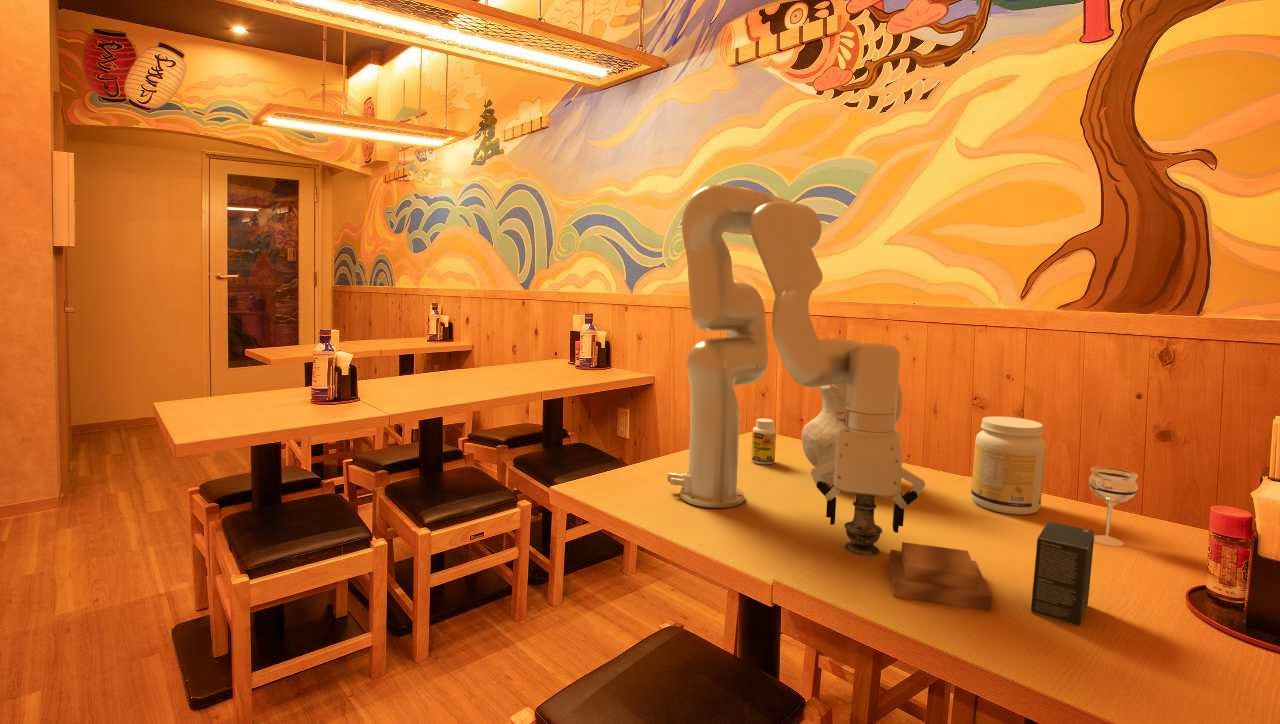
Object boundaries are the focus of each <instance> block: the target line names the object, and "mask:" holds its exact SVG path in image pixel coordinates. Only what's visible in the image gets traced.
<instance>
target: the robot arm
mask: <svg viewBox="0 0 1280 724" xmlns="http://www.w3.org/2000/svg"><path fill="white" fill-rule="evenodd" d="M681 232H682V233H681V234H682V240H683V245H684V249H685V255H686V261H687V262H686V264H687V278H688V281H687V282H688V291H689V292H688V294H689V306H690V315H691V320H692V321H693V323H694V325H695V326H696V327H697V328H698V329H700V330H703V331H707V332H724V331H725V332H726V337H716V338H715V337H714V338H713V337H712V338H708V339H704V340H701V341H698V343H696V344H694V345H693V346H692V347H691V349H690V350H689V352H688V354H687V358H686V373H687V379H688V384H689V394H690V395H689V396H690V405H689V406H690V408H689V409H690V413H689V419H690V420H689V422H690V423H689V446H688V447H689V448H688V449H689V450H688V472H683V473H677V472H670V471H669V472H668V474H667V482H668V483H669V484H670V485H671V486H681V488H680V490H679V496H680V499H681V500H682V501H684V502H686V503H687V504H690V505H693V506H697V507H701V508H702V507H703V508H711V509H712V508H714V509H721V508H722V509H723V508H732V507H735V506H738V505H740V504H741V505H742V503H743V502H744V501H745V493H744V491H742V490H741V489H740V488H739V487H738V484H737V483H738V460H739V441H740V440H739V438H740V435H739V434H740V433H739V432H740V406H739V401H738V397H737V395H736V392H735V390H734V386H740V385H749V384H751V383H755V382H757V381H758V380H760V379H761V378H762V377H763V376H764V374H765V372H766V370H767V367H768V361H769V360H768V358H769V351H768V348H769V347H768V337H767V334H768V333H767V322H766V321H767V320H766V311H765V310H766V309H765V304H764V301H763V298H762V296H761V293H759V291H758V290H757V289H756V288H755V287H754V286H753V285H751V284H748V283H745V282H737V281H736V282H735V281H734V275H733V262H732V256H731V252H730V250H729V248H728V246H727V244H726V242H725V241H724V238H723V234H725V233H729V234H734V235H735V234H736V235H745V236H751V238H752V240H753V243H754V245H755V248H756V250H757V253H758V255H759V258H760V260H761V262H762V264H763V267H764V270H765V272H766V275H767V277H768V279H769V282H770V285H771V287H772V290H773V292H774V300H773V301H774V302H773V306H772V318H771V319H772V321H771V322H772V323H771V327H772V334H773V340H774V342H775V344H776V347H777V351H778V352H779V355H780V358H781V360H782V363H783V364H784V366H785V369H786V371H787V372H788V374H789V375H790V377H791V378H792V379H793V380H794V381H795V382H796V383H797V384H799V385H801V386H803V387H807V388H819V386H825V385H832V384H840V383H848V385H847V402H846V410H844V412H837V414H836V420H841V421H842V422H843V423H845V426H843V427H841V429H840V431H839V435H838V439H837V445H836V452H835V460H834V461H832V462H829V463H826V464H824V465H821V466H818V467H814V468H811V471H810V475H811V478H812V479H813V482H814V483H815V486H816V488H817V489H818V491H820V492H821V494H822V495H823V496H824V497H825V500H826V513H825V517H826V518H829V521H830V523H829V524H830V525H835V524H836V514H837V513H836V510H837V497H836V496H837V495H838V494H840V493H841V492H842V493H847V494H855V495H856V494H862V495H871V496H875V497H881V498H883V497H884V498H892V499H893V501H894V502H895V503H893V511H892V512H893V513H892V524H891V525H892V531H893V532H894V533H896V534H898V533H899V528H900V527H904V519H905V516H904V515H905V509H906V508H907V507H908V506H909V505H910V504H911V503H913V502H914V501H915V500H917V499H918V496H919V495H920V494H921V493H922V491H923V490H924V488H925V486H926V481H925V480H924V479H923V478H921V477H920V476H917V475H916V474H914V473H913V472H910V471H909V470H907V469H905V468H904V467H903V450H902V449H903V448H902V439H901V433H900V432H899V431H897V430H896V426H895V424H896V425H897V422H896V409H897V394H898V383H899V381H900V380H899V378H900V377H899V376H900V364H901V361H900V360H901V355H900V353H901V352H900V350H899V349H898V348H897V347H896V346H894V345H891V344H887V343H876V342H875V343H872V342H871V343H870V342H869V343H868V342H867V343H866V342H864V343H863V342H859V341H854V340H851V339H846V338H822V339H819V337H818V335H817V332H816V330H815V328H814V325H813V323H812V319H811V316H810V312H809V311H810V309H809V301H810V297H811V296H812V293H813V291H815V290H816V289H817V288H818V287H819V286H820V285H821V283H822V282H823V278H824V277H823V272H822V270H821V267H820V265H819V263H818V260H817V258H816V256H815V254H814V251H813V248H814V247H816V245H817V244H818V242H819V241H820V239H821V235H822V223H821V220H820V217H819V215H818V214H817V213H816V211H814V210H813V209H812V207H809V206H808V205H805V204H801V203H799V202H798V203H797V202H794V201H791V200H787V199H785V198H781V197H779V196H776V195H773V194H769V193H767V192H763V191H759V190H754V189H748V188H743V187H739V186H733V185H725V184H711V185H706V186H703V187H702V188H700V189H698V190H697V191H695V192H694V193H693V194H692V196H691V197H690V198H689V200H688V201H687V203H686V205H685V207H684V210H683V213H682V219H681ZM831 471H834V472H833V484H832V485H831V486H829V485H827V484H826V483H825V482H824V481H823V479H822V477H821V475H823V474H825V473H828V472H831ZM902 479H903V480H905V481H906V482H908V483H910V484H912V487H911V488H910V490H907V492H905V493H904V494H902V492H901V489H902V488H901V487H902Z"/></svg>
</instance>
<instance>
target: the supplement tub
mask: <svg viewBox="0 0 1280 724" xmlns="http://www.w3.org/2000/svg"><path fill="white" fill-rule="evenodd" d="M1043 426H1044V425H1043V424H1042V423H1041V422H1038V421H1035V420H1032V419H1027V418H1020V417H1013V416H1012V417H1011V416H985V417H983V418H982V419H981V425H980V428H981V429H982V430H981V431H980V432H978V433H977V434H976V436H975V442H974V453H973V454H974V455H973V464H972V465H973V466H972V467H973V468H972V477H971V478H972V479H971V490H970V497H971V499H972V501H973V502H974V503H975V504H976V505H977V506H980V507H981V508H984V509H986V510H989V511H992V512H996V513H1002V514H1008V515H1015V516H1016V515H1020V516H1021V515H1022V516H1023V515H1024V516H1025V515H1031V514H1035V513H1036V512H1037V511H1039V509H1040V507H1041V504H1042V493H1043V485H1044V484H1043V483H1044V473H1045V463H1046V453H1047V444H1046V441H1045V440H1044V439H1043V438H1042V437H1041V436H1042V435H1043V434H1044V431H1043Z"/></svg>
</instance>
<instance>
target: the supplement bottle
mask: <svg viewBox="0 0 1280 724" xmlns="http://www.w3.org/2000/svg"><path fill="white" fill-rule="evenodd" d="M755 425H756V426H754V427H753V428H752V434H751V455H750V457H751V458H750V460H751V462H752V463H755V464H758V465H764V466H765V465H771V464H773V463H775V460H776V459H775V458H776V445H777V444H776V442H777V429H776V428H774V420H773V419H770V418H757V419H756V423H755Z"/></svg>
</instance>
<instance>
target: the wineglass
mask: <svg viewBox="0 0 1280 724" xmlns="http://www.w3.org/2000/svg"><path fill="white" fill-rule="evenodd" d="M1090 471H1091V473H1092V474H1091V475H1090V476H1089V479H1088V485H1089V488H1090V490H1091V492H1092V493H1094V495H1095V496H1096V497H1097V498H1099V499H1100V500H1102V501H1104V503H1105V504H1106V505H1107V507H1106V508H1107V509H1106V527H1105V535H1104V534H1094V542H1095V543H1098V544H1100V545H1106V546H1111V547H1123V546H1124V545H1125V542H1123V541H1122V540H1120V539H1119V538H1115V537H1112V536H1111V535H1109V534H1110V529H1111V522H1112V515H1113V510H1114V506H1116V505H1118V504H1120V503H1125V502H1127V501H1129V500H1130V499H1133V497H1135V495H1137V493H1138V489H1139V485H1138V484H1137V482H1136V481H1137V479H1138V478H1139V475H1138V474H1137V473H1136V472H1133V471H1129V470H1127V469H1120V468H1114V467H1108V466H1093V467H1090Z"/></svg>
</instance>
